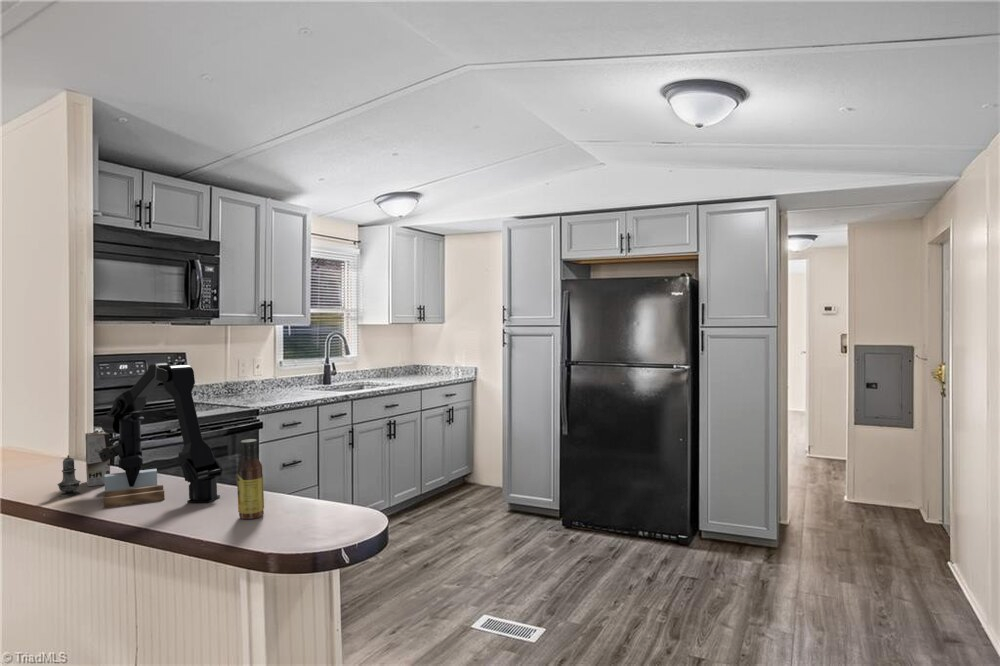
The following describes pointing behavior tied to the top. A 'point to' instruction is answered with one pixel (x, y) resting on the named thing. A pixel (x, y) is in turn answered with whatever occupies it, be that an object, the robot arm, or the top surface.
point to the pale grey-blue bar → (121, 482)
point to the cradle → (133, 495)
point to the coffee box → (96, 458)
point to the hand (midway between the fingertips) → (131, 485)
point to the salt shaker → (68, 479)
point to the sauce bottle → (250, 482)
